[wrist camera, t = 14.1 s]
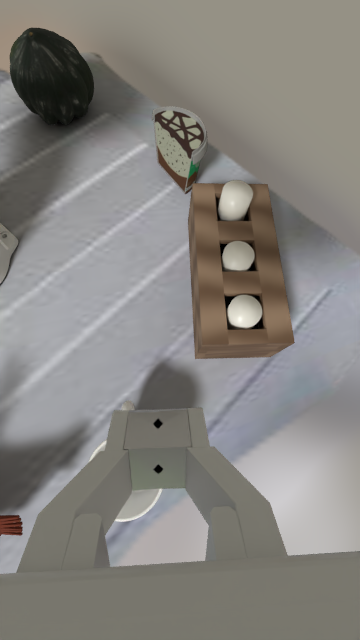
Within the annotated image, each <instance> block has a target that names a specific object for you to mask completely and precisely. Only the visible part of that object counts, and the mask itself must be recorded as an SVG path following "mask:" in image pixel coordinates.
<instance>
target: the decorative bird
mask: <svg viewBox="0 0 360 640" xmlns="http://www.w3.org/2000/svg"><path fill="white" fill-rule="evenodd" d="M19 517H20V516H19V515H0V536H1V535H2V534H5V535H22V528H23V527H21V525H22V522H20V521H21V518H19Z"/></svg>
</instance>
